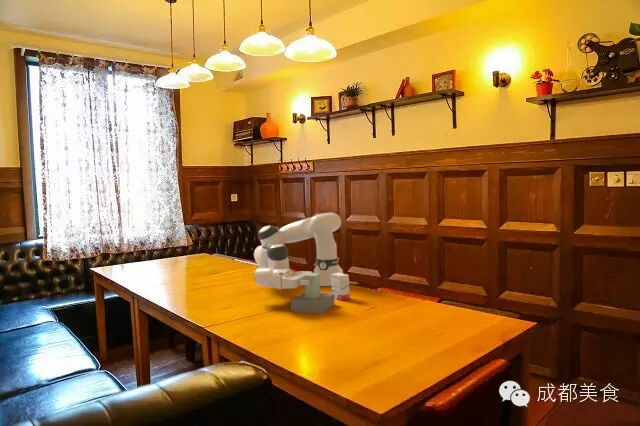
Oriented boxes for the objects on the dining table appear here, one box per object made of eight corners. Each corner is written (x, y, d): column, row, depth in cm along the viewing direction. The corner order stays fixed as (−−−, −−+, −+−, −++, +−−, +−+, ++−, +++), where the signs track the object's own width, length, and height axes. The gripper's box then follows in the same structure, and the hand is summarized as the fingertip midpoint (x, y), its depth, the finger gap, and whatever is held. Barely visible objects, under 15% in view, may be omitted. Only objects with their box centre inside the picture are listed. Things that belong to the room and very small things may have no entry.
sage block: (309, 295, 200) (309, 273, 200) (320, 295, 198) (319, 273, 198) (305, 297, 196) (304, 275, 195) (315, 298, 194) (315, 275, 193)
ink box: (350, 299, 210) (349, 274, 209) (341, 301, 207) (341, 276, 207) (339, 296, 217) (339, 272, 217) (331, 297, 215) (330, 273, 214)
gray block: (306, 302, 207) (306, 291, 207) (334, 304, 202) (334, 293, 202) (291, 311, 193) (290, 300, 192) (320, 314, 187) (320, 302, 187)
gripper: (296, 280, 211) (323, 282, 206) (275, 290, 192) (304, 292, 187) (296, 267, 211) (323, 268, 205) (275, 275, 192) (304, 277, 187)
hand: (314, 280), depth 196 cm, fingers open, 8 cm apart
